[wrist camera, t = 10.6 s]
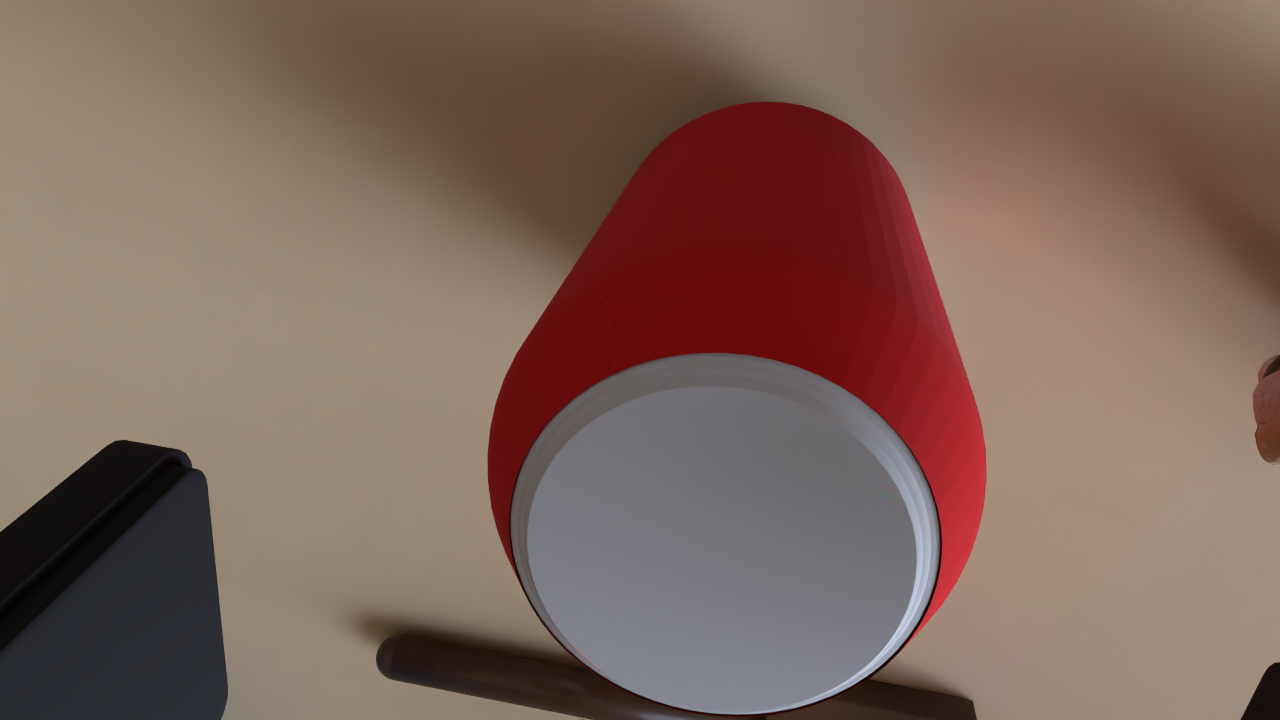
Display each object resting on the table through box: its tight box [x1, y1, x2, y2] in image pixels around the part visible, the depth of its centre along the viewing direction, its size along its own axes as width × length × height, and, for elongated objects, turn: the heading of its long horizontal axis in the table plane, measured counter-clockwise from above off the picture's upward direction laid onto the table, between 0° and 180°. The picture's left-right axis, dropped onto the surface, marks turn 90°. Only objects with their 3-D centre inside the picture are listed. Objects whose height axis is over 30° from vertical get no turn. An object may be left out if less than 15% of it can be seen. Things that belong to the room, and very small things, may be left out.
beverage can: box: [488, 102, 986, 718], centre depth 16 cm, size 6×6×12 cm
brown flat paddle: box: [376, 635, 977, 720], centre depth 27 cm, size 16×4×1 cm, turn 84°
